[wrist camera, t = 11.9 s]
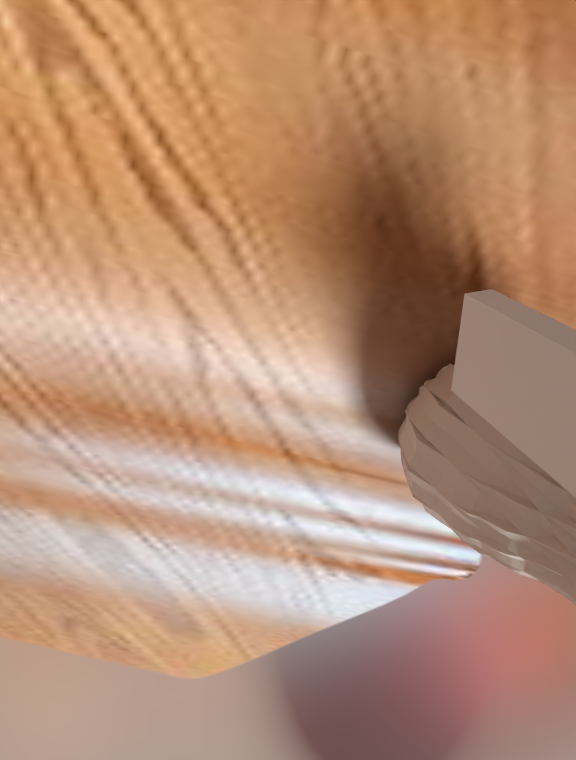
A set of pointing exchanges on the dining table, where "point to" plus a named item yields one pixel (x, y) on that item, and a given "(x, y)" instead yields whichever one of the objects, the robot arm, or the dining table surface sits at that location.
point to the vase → (487, 487)
